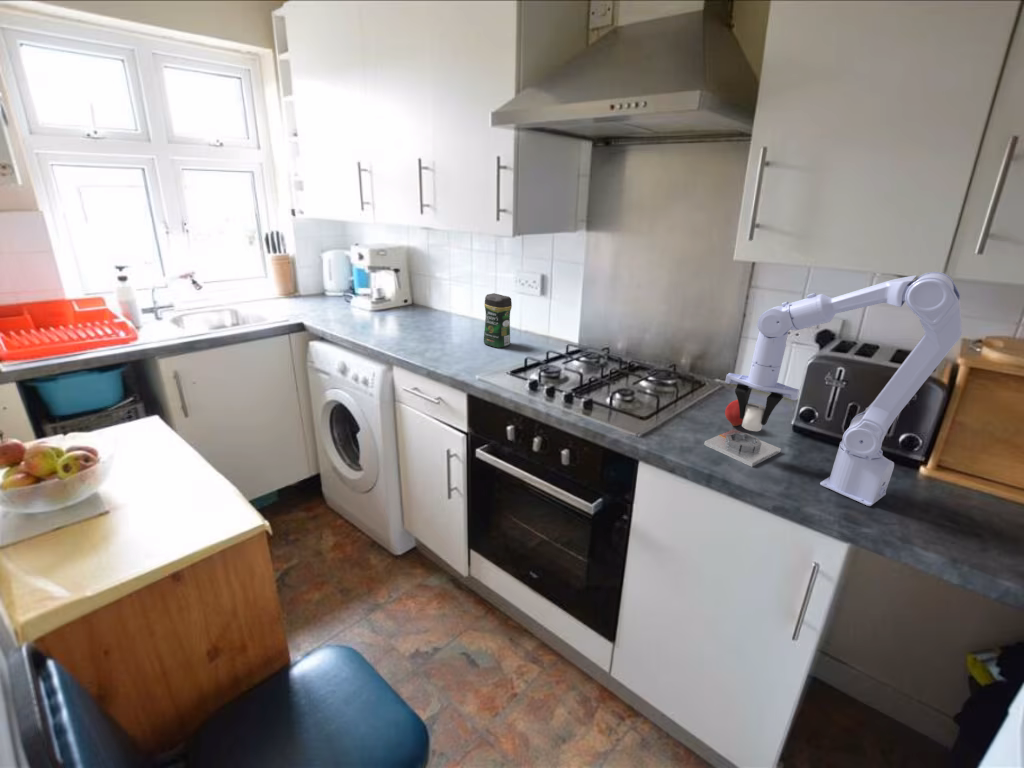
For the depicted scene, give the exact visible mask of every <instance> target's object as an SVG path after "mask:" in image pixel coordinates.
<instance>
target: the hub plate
mask: <svg viewBox="0 0 1024 768" xmlns="http://www.w3.org/2000/svg"><path fill="white" fill-rule="evenodd" d="M703 443H704V444H703V446H706V447H708V448H710V449H712V450H714V451H716V452H719V453H721V454H723V455H725V456H727V457H729V458H731V459H734V460H736V461H738V462H740V463H743V464H745V465H746V466H749V467H751V468H753V467H755V466H756V465H758V464H760V463H762V462H764V461H766V460H768V459H770V458H772V457H774V456H776V455H779V454H780V453H781V450H782V448H780V447H777V446H776V445H774V444H770V443H769V442H766V441H764V440H761V439H759V438H758V437H757V436H755V435H752V434H750V433H746V432H742V431H739V430H738V429H734V428H732V429H731V430H728V431H726V432H724V433H720V434H719V435H716V436H713V437H711V438H709V439H707V440H704V442H703Z"/></svg>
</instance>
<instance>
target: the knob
mask: <svg viewBox="0 0 1024 768" xmlns="http://www.w3.org/2000/svg"><path fill="white" fill-rule="evenodd" d="M765 408H766V406H764V405H762V404H759V403H755V402H754V403H753V402H752V403H751V402H750V403H749V402H748V403H747V405H746V409H745V413H744V418H743V422H742V424H741V427H742V428H744V429H745V430H747V431H750V432H759V431H761V430H762V427H763V425H761V423H762V419H763V416H764V413H765Z"/></svg>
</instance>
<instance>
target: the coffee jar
mask: <svg viewBox="0 0 1024 768" xmlns="http://www.w3.org/2000/svg"><path fill="white" fill-rule="evenodd" d="M483 305H484V309H485V311H484V312H485V322H484V331H483V332H484V333H483V343H484V344H485V345H488V346H490V347H494V348H498V349H499V348H506V347H508V346H509V345H510V344H511V325H510V324H511V321H510V320H511V311H512V307H513V306H512V305H513V303H512V298H511V297H510V296H507V295H503V294H499V293H495V292H494V293H488V294H486V295H485V297H484V303H483Z"/></svg>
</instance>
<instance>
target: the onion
mask: <svg viewBox="0 0 1024 768" xmlns="http://www.w3.org/2000/svg"><path fill="white" fill-rule="evenodd" d="M724 414H725V418H726V420H728V422H729V423H730V425H732V426H733V427H738V426H742V422H743V419H740V410H739V403H738V399H737V398H736V399H735V400H733V401H731V402H730V403H728V404H727V406H726V407H725V411H724Z"/></svg>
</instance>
